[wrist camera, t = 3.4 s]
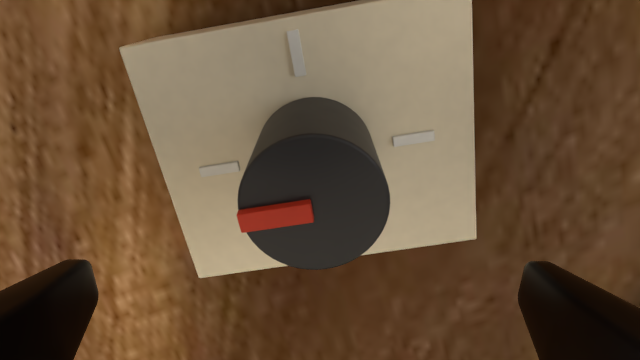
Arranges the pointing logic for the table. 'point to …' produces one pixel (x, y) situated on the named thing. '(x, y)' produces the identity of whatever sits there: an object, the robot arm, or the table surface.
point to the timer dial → (313, 186)
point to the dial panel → (315, 81)
